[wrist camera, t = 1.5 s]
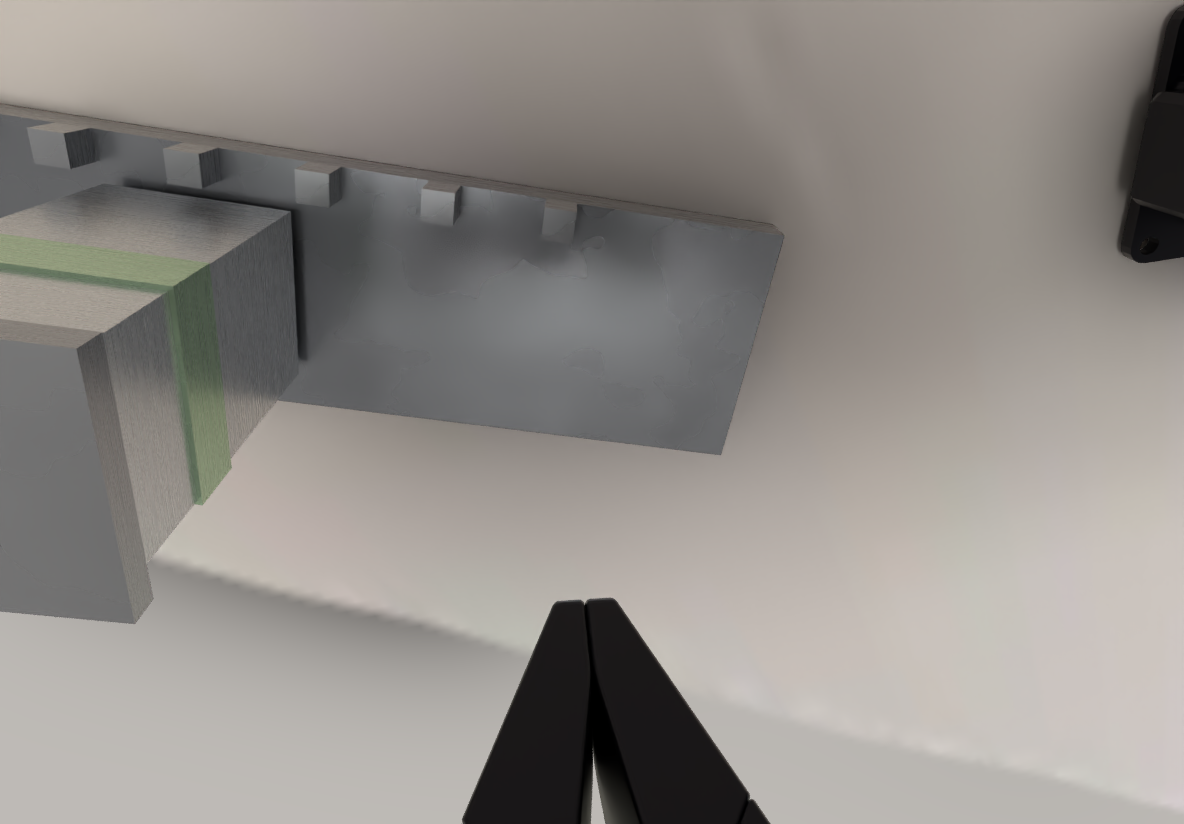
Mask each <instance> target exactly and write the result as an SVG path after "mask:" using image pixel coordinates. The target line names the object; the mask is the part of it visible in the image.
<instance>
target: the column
mask: <svg viewBox="0 0 1184 824" xmlns="http://www.w3.org/2000/svg"><path fill="white" fill-rule="evenodd" d="M298 374H299V368H298V348H297V327H296V307H295V286H294V266H293V245H292V225H291V211H285V210H279V209H272V208H265V207H258V206H252V205H245V204H238V203H231V202H225V201H218V200H211V199H205V198H198V197H191V196H184V195H178V194H171V193H164V192H157V191H151V190H144V189H137V188H130V187H124V186H117V185H110V184H101V185H98V186H95V187H92V188H89V189H86V190H83V191H80V192H77V193H74V194H71V195H68V196H65V197H62V198H59V199H56V200H53V201H50V202H47V203H44V204H41V205H38V206H35V207H32V208H29V209H26V210H23V211H20V212H17V213H14V214H11V215H8V216H5V217H2V218H0V611H1V612H12V613H22V614H33V615H44V616H54V617H65V618H76V619H87V620H97V621H108V622H119V623H129V624H135V623H136V622H137V621H138V619H139V618H140V617H141V615H142V614H143V612H144V611H145V610H146V608H147V607H148V606H149V604H150V603H151V602H152V600H153V594H152V590H151V584H150V578H149V573H148V568H147V563H148V562H149V560H150V559H151V558H152V557H153V555H154V554H155V553H156V552H157V550H158V549H159V548H160V547H161V545H162V544H163V543H164V542H165V540H166V539H167V538H168V537H169V535H170V534H171V533H172V532H173V530H174V529H175V528H176V527H177V525H178V524H179V523H180V522H181V520H182V519H183V518H184V517H185V515H186V514H187V513H188V512H189V510H190V509H191V508H192V507H193V505H194V504H198V505H203V504H204V503H205V502H206V500H207V499H208V498H209V496H210V495H211V494H212V493H213V491H214V490H215V489H216V487H217V486H218V485H219V484H220V482H221V481H222V480H223V478H224V477H225V476H226V475H227V473H228V472H229V471H230V469H231V468H232V467H231V458H232V456H233V455H234V454H235V453H236V451H237V450H238V449H239V448H240V446H241V445H242V444H243V443H244V441H245V440H246V439H247V438H248V436H249V435H250V434H251V433H252V431H253V430H254V429H255V428H256V426H257V425H258V424H259V423H260V421H261V420H262V419H263V418H264V416H265V415H266V414H267V413H268V411H269V410H270V409H271V408H272V406H273V405H274V404H275V403H276V401H277V400H278V399H279V398H280V396H281V395H282V394H283V393H284V391H285V390H286V389H287V388H288V386H289V385H290V384H291V383H292V381H293V380H294V379H295V378H296V376H297V375H298Z"/></svg>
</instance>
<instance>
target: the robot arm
mask: <svg viewBox="0 0 1184 824" xmlns="http://www.w3.org/2000/svg"><path fill="white" fill-rule="evenodd" d="M1147 238H1149V241H1148V243H1147V245H1146V246H1145V247H1144V248H1143V249H1141V250H1140V246H1141V244H1142V242H1143V241H1144V240H1145V239H1147ZM1121 252H1122V253H1123V255H1124V256H1125V257H1127V258H1129V259H1131V260H1133V261H1136V262H1138V263H1148V262H1155V261H1161V260H1168V259H1174V258H1180V257H1184V5H1183V6H1182V7H1181V8H1179V9H1178V10H1177V11H1176V12H1175V13H1174V15H1173V16H1172V17H1171V19H1170V21H1169V23H1168V26H1167V29H1166V33H1165V38H1164V43H1163V48H1162V52H1161V57H1160V62H1159V67H1158V72H1157V76H1156V81H1155V86H1154V91H1153V95H1152V100H1151V103H1150V105H1149V109H1148V114H1147V119H1146V124H1145V129H1144V133H1143V138H1142V143H1141V148H1140V153H1139V157H1138V162H1137V167H1136V172H1135V177H1134V181H1133V186H1132V191H1131V200H1130V205H1129V210H1128V215H1127V220H1126V224H1125V229H1124V234H1123V239H1122V243H1121ZM593 754H594V764H595V770H596V776H597V782H598V788H599V793H600V798H601V803H602V808H603V813H604V819H605V823H606V824H770V822H769V821H768V819H767V818H766V817H765V815H764V814H763V812H762V811H761V809H760V808H759V806H758V805H757V803H756V802H755V801H754V800H753V799H750V794H749V792H748V791H747V789H746V788H745V787H744V785H743V784H742V782H741V781H740V779H739V778H738V776H737V775H736V773H735V772H734V771H733V769H732V768H731V766H730V765H729V763H728V762H727V761H726V759H725V757H724V756H723V755H722V753H721V752H720V750H719V749H718V747H717V746H716V744H715V743H714V742H713V740H712V739H711V737H710V736H709V734H708V733H707V731H706V730H705V729H704V727H703V726H702V724H701V723H700V721H699V720H698V718H697V717H696V715H695V714H694V713H693V711H692V710H691V708H690V707H689V705H688V704H687V702H686V701H685V699H684V698H683V697H682V695H681V694H680V692H679V691H678V689H677V688H676V686H675V685H674V683H673V682H672V681H671V679H670V678H669V676H668V675H667V673H666V672H665V670H664V669H663V668H662V666H661V665H660V663H659V662H658V660H657V659H656V657H655V656H654V654H653V653H652V652H651V650H650V649H649V647H648V646H647V644H646V643H645V641H644V640H643V639H642V637H641V636H640V634H639V633H638V631H637V630H636V628H635V627H634V625H633V624H632V623H631V621H630V620H629V618H628V617H627V615H626V614H625V612H624V611H623V610H622V608H621V607H620V605H619V604H618V602H617V601H616V600H615V599H613V598H599V599H589V600H587V601H586V603H585V605H584V602H583V601H581V600H568V601H557V602H556V603H554V605H553V606H552V609H551V611H550V613H549V616H548V618H547V620H546V623H545V625H544V627H543V630H542V632H541V634H540V637H539V639H538V641H537V644H536V646H535V649H534V651H533V653H532V656H531V658H530V660H529V663H528V665H527V668H526V670H525V672H524V674H523V677H522V679H521V681H520V684H519V686H518V689H517V691H516V693H515V696H514V698H513V700H512V703H511V705H510V708H509V710H508V712H507V714H506V717H505V719H504V722H503V724H502V726H501V729H500V731H499V733H498V736H497V738H496V740H495V743H494V745H493V748H492V750H491V752H490V755H489V757H488V759H487V762H486V764H485V766H484V769H483V771H482V773H481V776H480V778H479V781H478V783H477V785H476V788H475V790H474V792H473V794H472V797H471V799H470V802H469V804H468V806H467V809H466V811H465V813H464V816H463V818H462V822H463V824H591V805H592V784H593ZM749 799H750V800H749Z"/></svg>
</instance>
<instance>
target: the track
mask: <svg viewBox="0 0 1184 824" xmlns="http://www.w3.org/2000/svg"><path fill="white" fill-rule="evenodd" d="M101 184H110V185H117V186H124V187H130V188H137V189H144V190H151V191H157V192H164V193H171V194H178V195H184V196H191V197H198V198H205V199H211V200H218V201H225V202H231V203H238V204H245V205H252V206H258V207H265V208H272V209H279V210H285V211H291V225H292V245H293V266H294V286H295V307H296V327H297V348H298V368H299V374H298V375H297V376H296V378H295V379H294V380H293V381H292V383H291V384H290V385H289V386H288V388H287V389H286V390H285V391H284V393H283V394H282V395H281V396H280V398H279V399H278V400H280V401H288V402H296V403H304V404H312V405H320V406H328V407H336V408H344V409H352V410H360V411H368V412H376V413H384V414H393V415H401V416H409V417H417V418H425V419H433V420H441V421H449V422H457V423H465V424H473V425H481V426H489V427H497V428H506V429H514V430H522V431H530V432H538V433H546V434H554V435H562V436H570V437H578V438H586V439H594V440H602V441H610V442H618V443H627V444H635V445H643V446H651V447H659V448H667V449H675V450H683V451H691V452H699V453H707V454H715V455H721V453H722V449H723V446H724V443H725V439H726V436H727V432H728V429H729V425H730V422H731V418H732V415H733V411H734V408H735V405H736V401H737V398H738V394H739V391H740V387H741V384H742V380H743V377H744V373H745V370H746V366H747V363H748V360H749V356H750V353H751V349H752V346H753V342H754V339H755V335H756V332H757V328H758V325H759V322H760V318H761V315H762V311H763V308H764V304H765V301H766V297H767V294H768V290H769V287H770V284H771V280H772V277H773V273H774V270H775V266H776V263H777V259H778V256H779V252H780V249H781V245H782V242H783V239H784V235H783V234H782V233H781V232H780V231H779V230H778V229H777V228H776V227H775V226H774V225H773V224H766V223H760V222H754V221H747V220H741V219H734V218H728V217H722V216H715V215H709V214H702V213H696V212H690V211H683V210H677V209H670V208H664V207H658V206H651V205H645V204H639V203H632V202H626V201H619V200H613V199H607V198H600V197H594V196H587V195H581V194H575V193H568V192H562V191H555V190H549V189H543V188H536V187H530V186H524V185H517V184H511V183H504V182H498V181H492V180H485V179H479V178H472V177H466V176H460V175H453V174H447V173H440V172H434V171H428V170H421V169H415V168H408V167H402V166H396V165H389V164H383V163H377V162H370V161H364V160H357V159H351V158H345V157H338V156H332V155H325V154H319V153H313V152H306V151H300V150H293V149H287V148H281V147H274V146H268V145H262V144H255V143H249V142H242V141H236V140H230V139H223V138H217V137H210V136H204V135H198V134H191V133H185V132H178V131H172V130H166V129H159V128H153V127H146V126H140V125H134V124H127V123H121V122H115V121H108V120H102V119H95V118H89V117H83V116H76V115H70V114H63V113H57V112H51V111H44V110H38V109H31V108H25V107H19V106H12V105H6V104H0V218H2V217H5V216H8V215H11V214H14V213H17V212H20V211H23V210H26V209H29V208H32V207H35V206H38V205H41V204H44V203H47V202H50V201H53V200H56V199H59V198H62V197H65V196H68V195H71V194H74V193H77V192H80V191H83V190H86V189H89V188H92V187H95V186H98V185H101Z"/></svg>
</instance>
